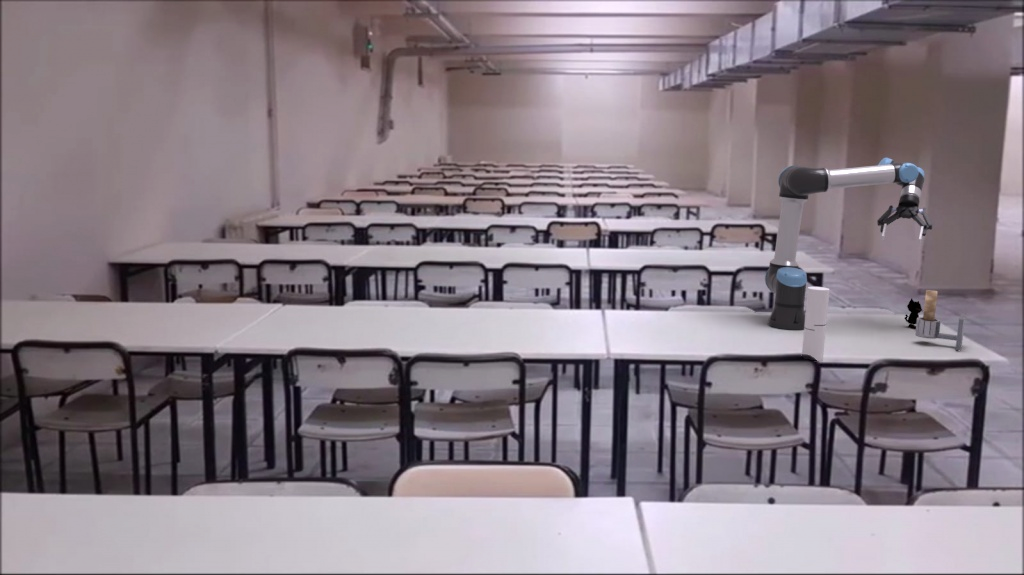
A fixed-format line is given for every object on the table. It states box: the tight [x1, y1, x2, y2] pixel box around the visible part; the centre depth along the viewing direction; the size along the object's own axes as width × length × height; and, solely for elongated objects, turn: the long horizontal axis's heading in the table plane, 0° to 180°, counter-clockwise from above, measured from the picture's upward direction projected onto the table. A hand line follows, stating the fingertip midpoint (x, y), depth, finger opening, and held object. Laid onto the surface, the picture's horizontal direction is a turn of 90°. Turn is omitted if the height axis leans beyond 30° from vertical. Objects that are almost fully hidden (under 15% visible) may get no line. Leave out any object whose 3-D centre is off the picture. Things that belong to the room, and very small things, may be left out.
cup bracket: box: [915, 313, 967, 351], centre depth 343 cm, size 16×12×12 cm
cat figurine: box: [904, 297, 924, 330], centre depth 374 cm, size 7×7×12 cm
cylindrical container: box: [801, 286, 830, 362], centre depth 315 cm, size 7×7×25 cm
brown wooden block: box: [922, 289, 938, 321], centre depth 344 cm, size 4×4×16 cm
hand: (901, 239), depth 357 cm, fingers open, 13 cm apart
